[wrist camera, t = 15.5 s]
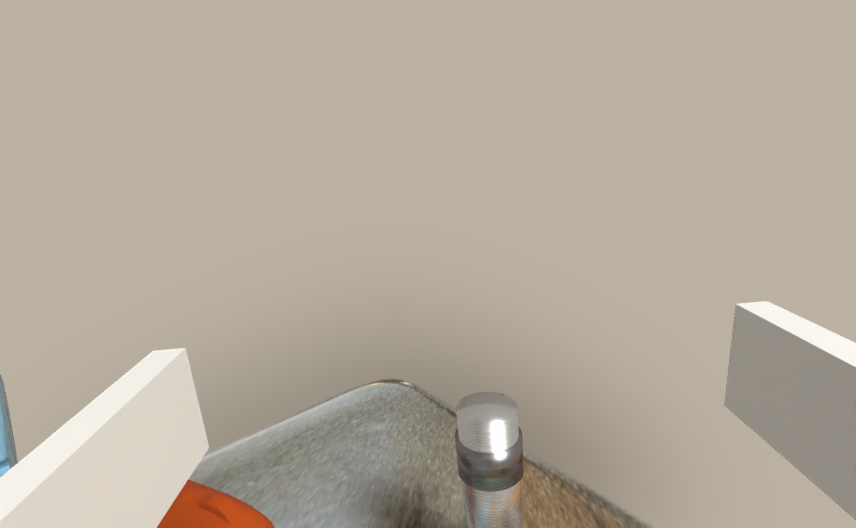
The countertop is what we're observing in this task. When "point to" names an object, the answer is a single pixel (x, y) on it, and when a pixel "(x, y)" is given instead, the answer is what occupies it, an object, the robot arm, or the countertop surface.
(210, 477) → the countertop surface
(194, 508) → the toy drill
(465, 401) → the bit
